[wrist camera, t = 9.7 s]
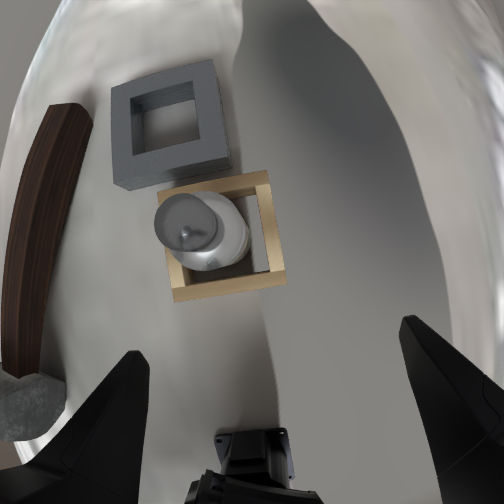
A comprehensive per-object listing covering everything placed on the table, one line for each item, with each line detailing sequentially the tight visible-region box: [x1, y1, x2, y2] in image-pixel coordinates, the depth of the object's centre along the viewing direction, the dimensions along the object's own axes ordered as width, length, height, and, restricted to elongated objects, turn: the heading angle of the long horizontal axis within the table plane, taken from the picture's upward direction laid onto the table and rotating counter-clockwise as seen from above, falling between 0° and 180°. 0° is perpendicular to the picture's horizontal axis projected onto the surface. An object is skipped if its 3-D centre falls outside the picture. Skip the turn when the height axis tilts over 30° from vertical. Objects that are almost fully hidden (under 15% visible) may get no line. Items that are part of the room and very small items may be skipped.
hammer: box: [0, 103, 93, 442], centre depth 21 cm, size 5×11×30 cm
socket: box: [111, 60, 232, 191], centre depth 23 cm, size 9×9×3 cm
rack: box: [157, 170, 287, 302], centre depth 23 cm, size 8×8×3 cm
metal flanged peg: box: [154, 191, 251, 271], centre depth 18 cm, size 4×4×13 cm
